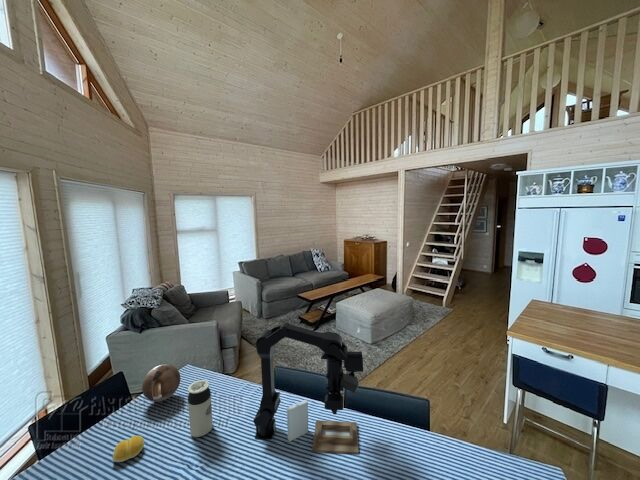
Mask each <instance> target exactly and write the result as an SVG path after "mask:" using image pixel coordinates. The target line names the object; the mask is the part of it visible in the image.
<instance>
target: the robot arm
mask: <svg viewBox="0 0 640 480" xmlns="http://www.w3.org/2000/svg"><path fill="white" fill-rule="evenodd" d="M285 338H288V339H290V340H292V341H293V340H294V341H296V342H297V341H298V342H301V343H304V344H308V345H311V346H314V347H317V348H318V349H319V350H321V351H322V352H321V356H320V359H321V360H326V374H325V376H326V389H325V390H327V391H328V393H327V394H326V395H325V396H324V409H325V410H327V411H328V410H329V411H331V412H332V414H333V415H337V413H338V411H342V410H344V396H343V395H342V393H341V392H344V390H347V391H349V392H351V393H353V394H355V393H356V392H357V390H358V387H359V379H358V376H357V375H356V374H355V373H364V360H363V351H362V350H361V351H350V350H349V351H348V346H347V345H346V344H345V342H344V341H343V338H342V336H341V334H339V333H337V332H334V331H333V332H332V331H324V332H318V331H316V330H312V329H308V328H305V327H300V326H297V325H294V324H290V323H289V322H283V323H281V324H280V325H278V326H274V327H273V328H270V329H265V330H263V331H262V333H261V334H260V335H259V337H258V338H257V339H256V341H255V348H256V353H257V355H258V356H259V358H260V369H261V370H260V371H261V387H262V390H261V391H262V394H261V395H262V397H261V401H260V405H259V407H258V409H257V412H256V414H255V417H254V418H253V423H254V426H255V435H254V439H257V440H272V438H273V436H274V434H275V432H276V429H277V427H276V426H277V425H276V418H275V415H276V414H277V412H278V409H279V406H280V403H281V396H280V395H281V392H280V391H278V392H277V391H276V388H275V374H274V371H275V370H274V367H275V366H274V351H275V347H276V345H277V343H278V342H280V341H282V340H283V339H285ZM343 368H344V369H345V372H346V373H345V372H344V369H343Z"/></svg>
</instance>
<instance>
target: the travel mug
mask: <svg viewBox="0 0 640 480" xmlns="http://www.w3.org/2000/svg"><path fill="white" fill-rule="evenodd" d="M209 386H210V382H209V381H208V380H206V379H205V380H204V379H201V380H197V381H194V382H192V383H191V384H190V385H189V386H188V388H187V391H188V393H189V394H188V395H187V405H188V406H187V407H188V417H189V418H188V419H189V421H188V422H189V430H190V431H189V433H190V435H191V436H192V437H195V438H200V437H203V436H205V435H207V434H208V433H209V432H210V431H211V430H212V429H213V427H214V426H213V425H214V424H213V423H214V422H213V409H212V406H213V405H212V395H211V393H212V392H211V389H210V388H209Z"/></svg>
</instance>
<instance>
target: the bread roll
mask: <svg viewBox="0 0 640 480" xmlns="http://www.w3.org/2000/svg"><path fill="white" fill-rule="evenodd" d="M144 447H145V439H144V437H143V436H141V435H133V436H132V437H130V438H128V439H123V440H121V441H120V442H119V443H118V444H117V445H116V446H115V448H114V450H113V453H112V461H113V462H115V463H120V462H121V463H122V462H125V461H127V460H129V459H133V458H135V457H136V456H137V455H139V454H140V452H141V451H142V449H143V448H144Z"/></svg>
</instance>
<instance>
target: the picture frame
mask: <svg viewBox="0 0 640 480" xmlns="http://www.w3.org/2000/svg"><path fill="white" fill-rule="evenodd" d="M311 451H312V453H331V454H332V453H333V454H351V455H352V454H353V455H354V454H355V455H359V441H358V426H357V422H355V421H341V420H340V421H337V420H319V419H318V420H316V419H315V426H314V432H313V440H312V448H311Z"/></svg>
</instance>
